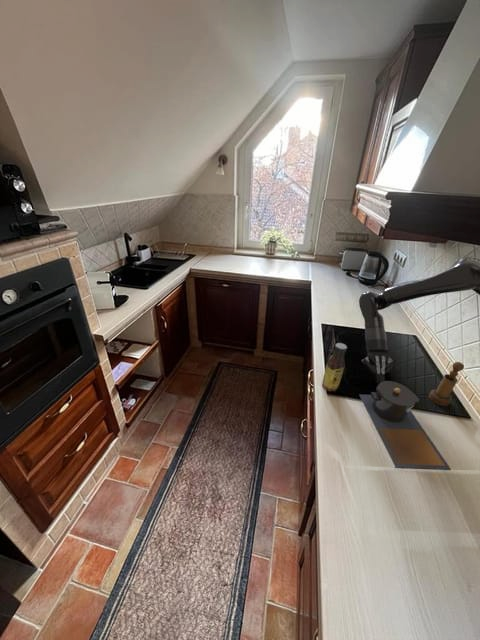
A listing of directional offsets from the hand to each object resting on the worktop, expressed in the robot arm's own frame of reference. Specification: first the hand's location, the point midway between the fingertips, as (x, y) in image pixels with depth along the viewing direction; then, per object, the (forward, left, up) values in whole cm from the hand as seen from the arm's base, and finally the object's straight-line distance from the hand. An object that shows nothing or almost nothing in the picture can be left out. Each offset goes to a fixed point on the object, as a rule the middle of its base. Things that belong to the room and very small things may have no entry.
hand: (380, 384), depth 97 cm
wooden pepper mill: (-22, +3, -4) cm, 23 cm away
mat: (0, +16, -4) cm, 16 cm away
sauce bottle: (+18, -2, -4) cm, 19 cm away
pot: (0, +9, -4) cm, 10 cm away
